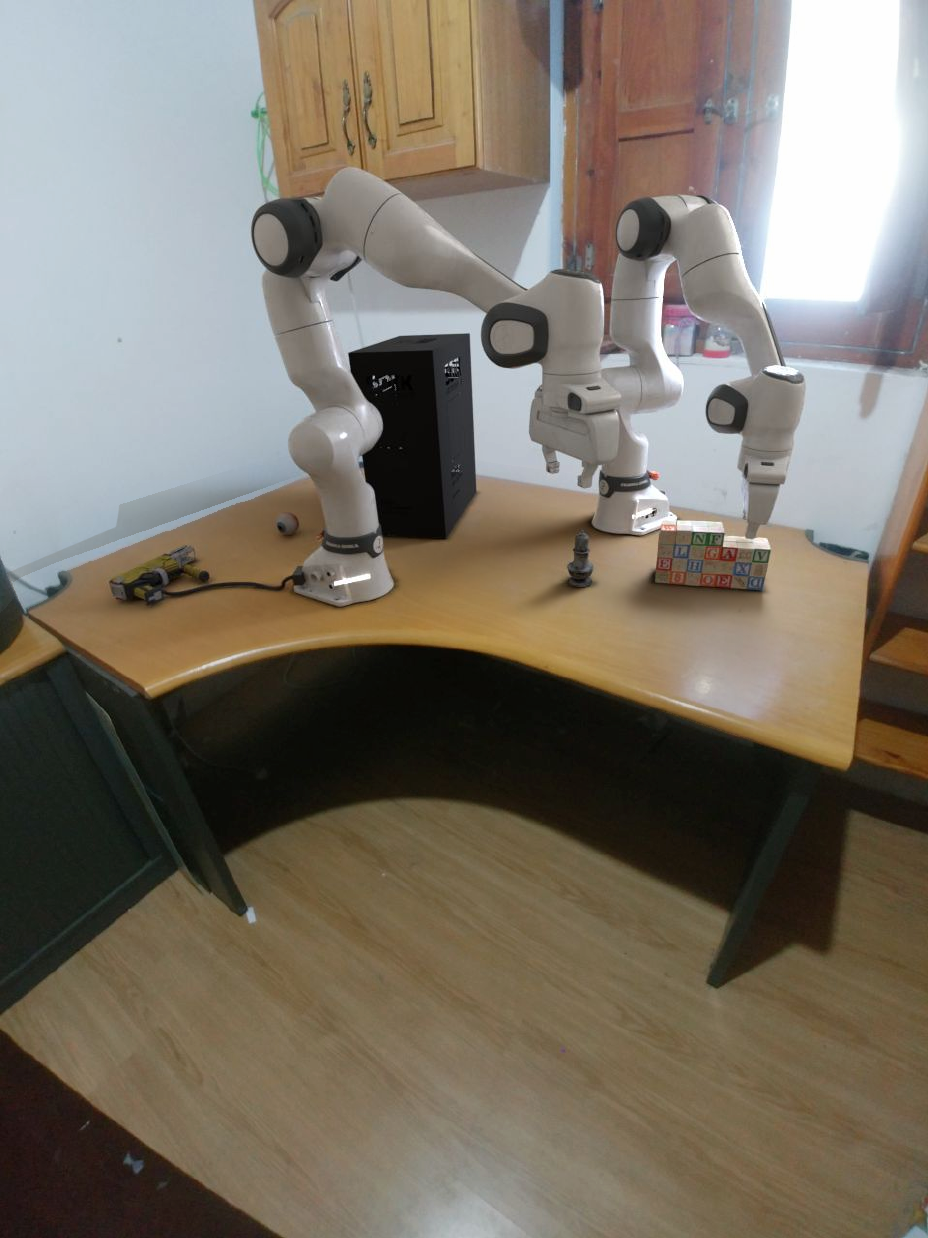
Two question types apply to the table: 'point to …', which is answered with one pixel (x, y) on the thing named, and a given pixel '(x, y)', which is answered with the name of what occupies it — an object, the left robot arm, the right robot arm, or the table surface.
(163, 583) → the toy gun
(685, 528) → the stack of blocks
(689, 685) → the table surface
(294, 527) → the eyeball
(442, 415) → the black computer case
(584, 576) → the grey chess piece
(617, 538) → the table surface
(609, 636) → the table surface
